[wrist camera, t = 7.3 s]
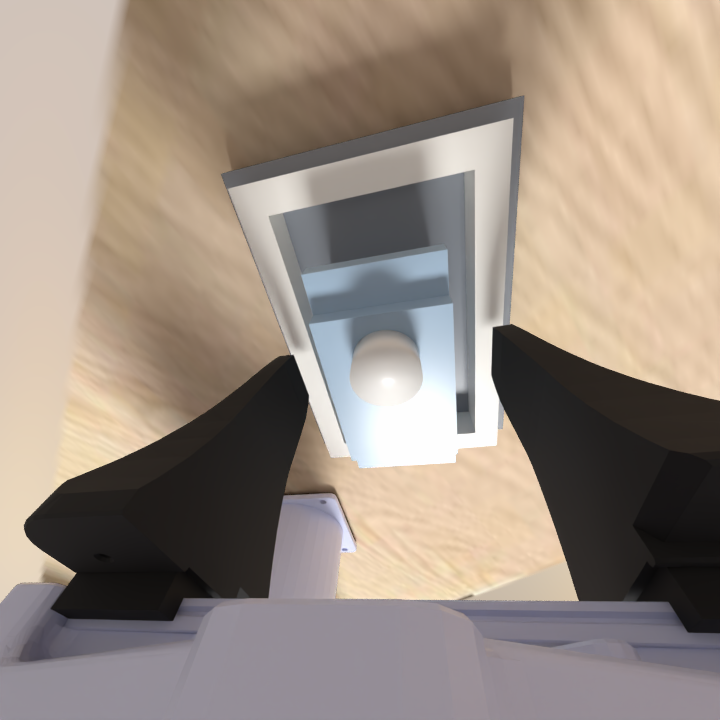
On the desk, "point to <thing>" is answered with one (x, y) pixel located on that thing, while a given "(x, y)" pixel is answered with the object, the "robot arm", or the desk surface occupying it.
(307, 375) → the board
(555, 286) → the desk surface
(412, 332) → the block
